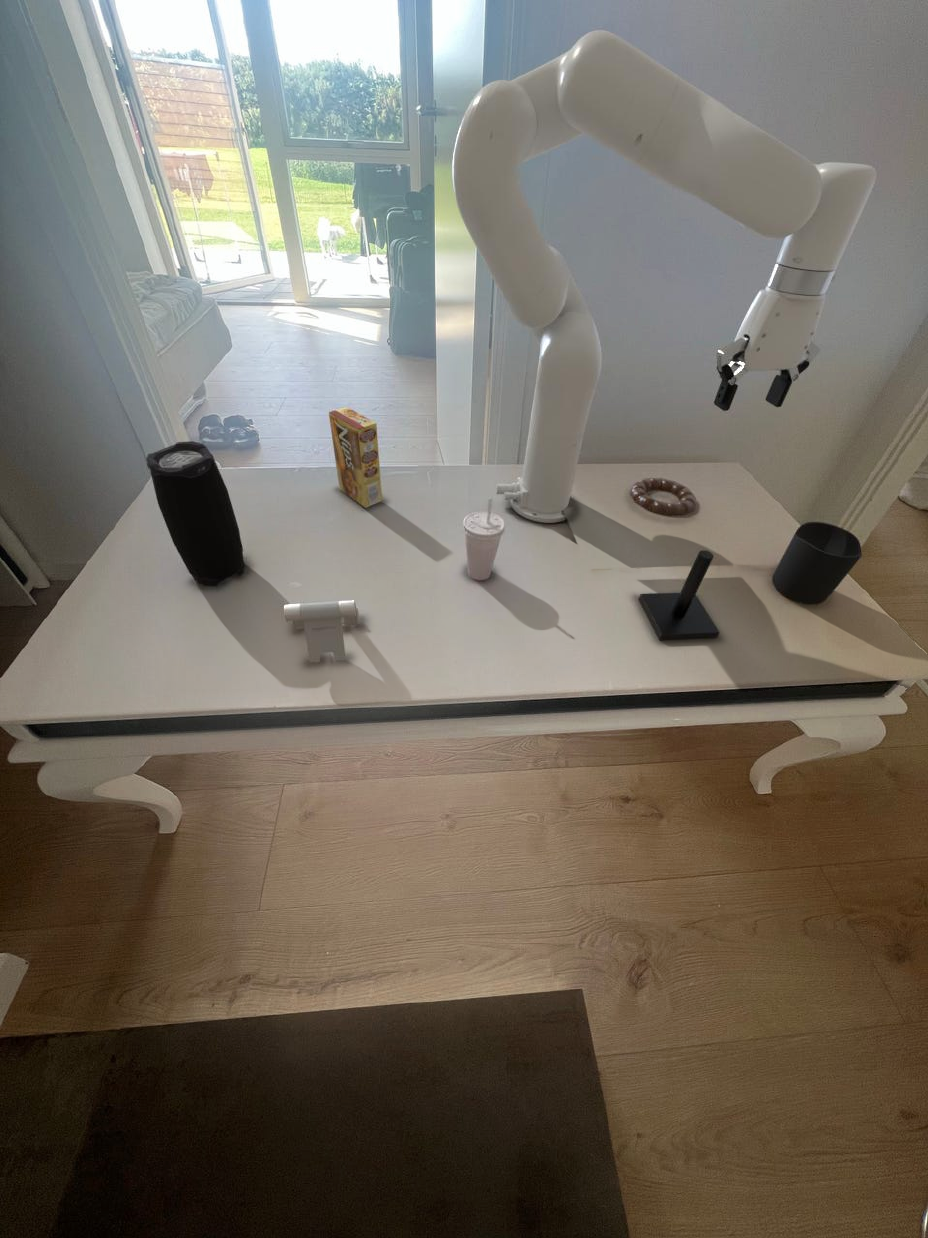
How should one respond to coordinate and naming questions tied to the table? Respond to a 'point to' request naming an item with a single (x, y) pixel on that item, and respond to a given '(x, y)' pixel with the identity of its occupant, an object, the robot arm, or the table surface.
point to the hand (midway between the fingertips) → (746, 405)
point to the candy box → (356, 456)
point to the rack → (681, 607)
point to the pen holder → (816, 562)
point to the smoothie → (482, 541)
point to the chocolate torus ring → (663, 508)
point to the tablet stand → (323, 625)
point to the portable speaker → (197, 511)
